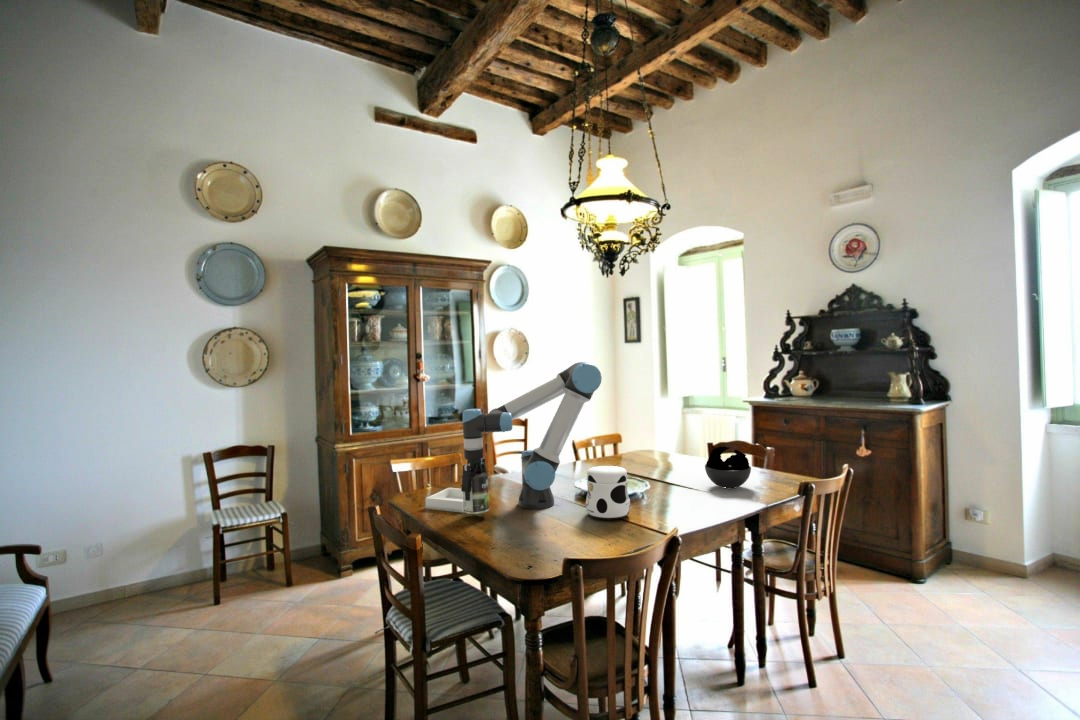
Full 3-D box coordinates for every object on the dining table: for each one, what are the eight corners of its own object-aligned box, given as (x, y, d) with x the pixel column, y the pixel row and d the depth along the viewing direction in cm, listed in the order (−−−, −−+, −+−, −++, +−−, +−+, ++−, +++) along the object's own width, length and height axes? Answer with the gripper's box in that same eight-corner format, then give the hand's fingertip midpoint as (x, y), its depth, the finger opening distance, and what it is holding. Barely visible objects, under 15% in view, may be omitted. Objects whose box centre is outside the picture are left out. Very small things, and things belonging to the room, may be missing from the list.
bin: (484, 500, 236) (484, 490, 236) (463, 512, 219) (462, 501, 219) (449, 497, 243) (448, 487, 242) (425, 508, 226) (425, 498, 226)
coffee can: (492, 506, 216) (491, 471, 216) (485, 514, 206) (483, 477, 206) (468, 506, 218) (466, 471, 218) (459, 514, 208) (457, 477, 208)
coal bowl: (702, 482, 258) (701, 443, 258) (745, 482, 255) (744, 443, 255) (709, 493, 238) (708, 451, 238) (756, 494, 235) (755, 451, 235)
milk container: (578, 513, 214) (577, 468, 214) (615, 507, 221) (614, 463, 221) (599, 525, 199) (598, 477, 198) (639, 518, 205) (638, 471, 205)
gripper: (479, 443, 224) (481, 496, 224) (449, 453, 203) (452, 512, 203) (495, 443, 221) (497, 497, 221) (467, 454, 200) (470, 513, 200)
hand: (476, 504), depth 212 cm, fingers closed on coffee can, 10 cm apart
